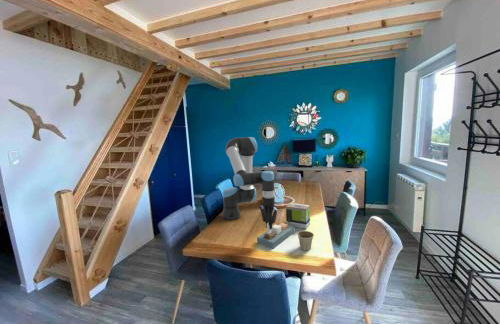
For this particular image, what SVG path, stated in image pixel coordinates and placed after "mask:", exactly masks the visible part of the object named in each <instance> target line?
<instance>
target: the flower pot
mask: <svg viewBox="0 0 500 324" xmlns="http://www.w3.org/2000/svg"><path fill="white" fill-rule="evenodd" d="M297 237H298V240H299V248H300V249H301V250H302V251H310V250H311V249H312V244H313V238H314V237H315V234H314V233H313V232H311V231H308V230H301V231H298V232H297Z"/></svg>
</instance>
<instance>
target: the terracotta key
mask: <svg viewBox="0 0 500 324" xmlns="http://www.w3.org/2000/svg"><path fill="white" fill-rule="evenodd" d="M280 223H281V224H279V223H278V224H279V226H281V230H286V229H287V228H288V224H286V223H285V222H280Z"/></svg>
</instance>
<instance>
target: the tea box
mask: <svg viewBox="0 0 500 324" xmlns="http://www.w3.org/2000/svg"><path fill="white" fill-rule="evenodd" d="M285 218H286V220H285V222H286V223H285V224H288V226H292V227H294V228H299V229H303V230H304V229H305V230H307V228H309V226H310V225H311V205H310V204H305V203H304V204H303V203H296V202H290V203H288V204H287V205H286V206H285Z"/></svg>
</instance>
